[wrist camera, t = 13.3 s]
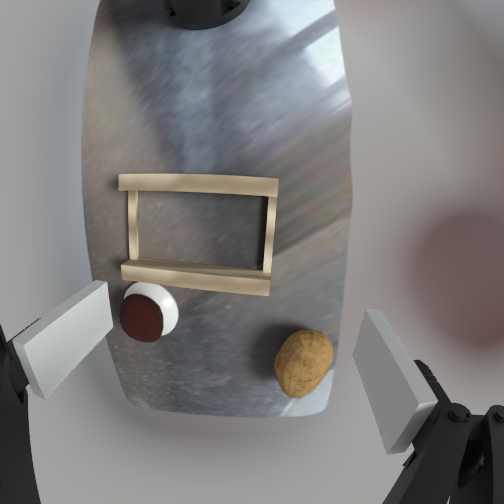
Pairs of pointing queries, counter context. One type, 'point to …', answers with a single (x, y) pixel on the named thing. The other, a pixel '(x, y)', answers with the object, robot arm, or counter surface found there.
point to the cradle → (190, 272)
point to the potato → (303, 362)
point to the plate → (159, 302)
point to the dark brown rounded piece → (141, 318)
